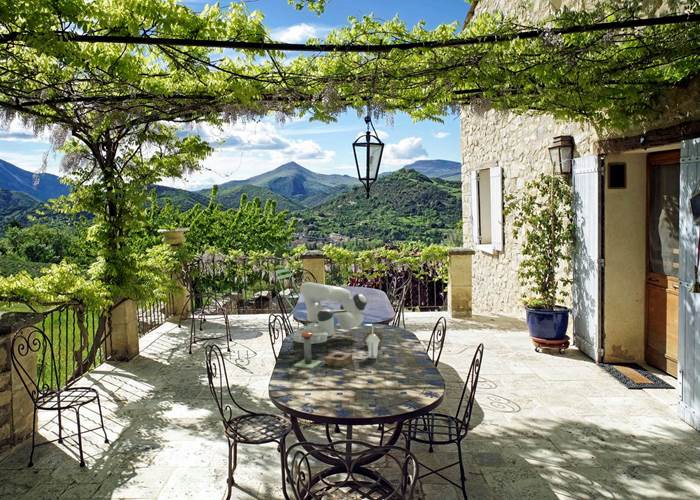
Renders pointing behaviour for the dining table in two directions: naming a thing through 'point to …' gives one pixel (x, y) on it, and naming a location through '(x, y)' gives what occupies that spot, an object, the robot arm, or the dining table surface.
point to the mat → (302, 364)
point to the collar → (338, 359)
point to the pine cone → (379, 335)
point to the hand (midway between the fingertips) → (309, 339)
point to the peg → (307, 346)
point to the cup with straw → (372, 344)
